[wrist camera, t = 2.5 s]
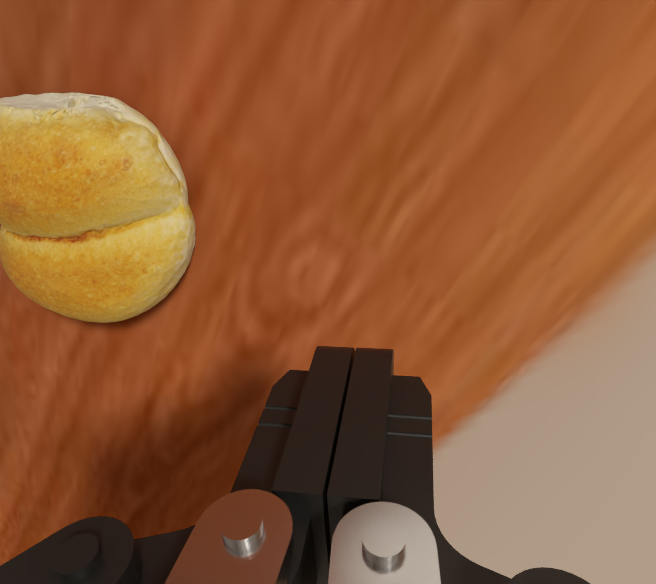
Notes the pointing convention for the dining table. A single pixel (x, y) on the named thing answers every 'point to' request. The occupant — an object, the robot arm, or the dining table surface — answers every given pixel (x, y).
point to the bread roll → (90, 206)
